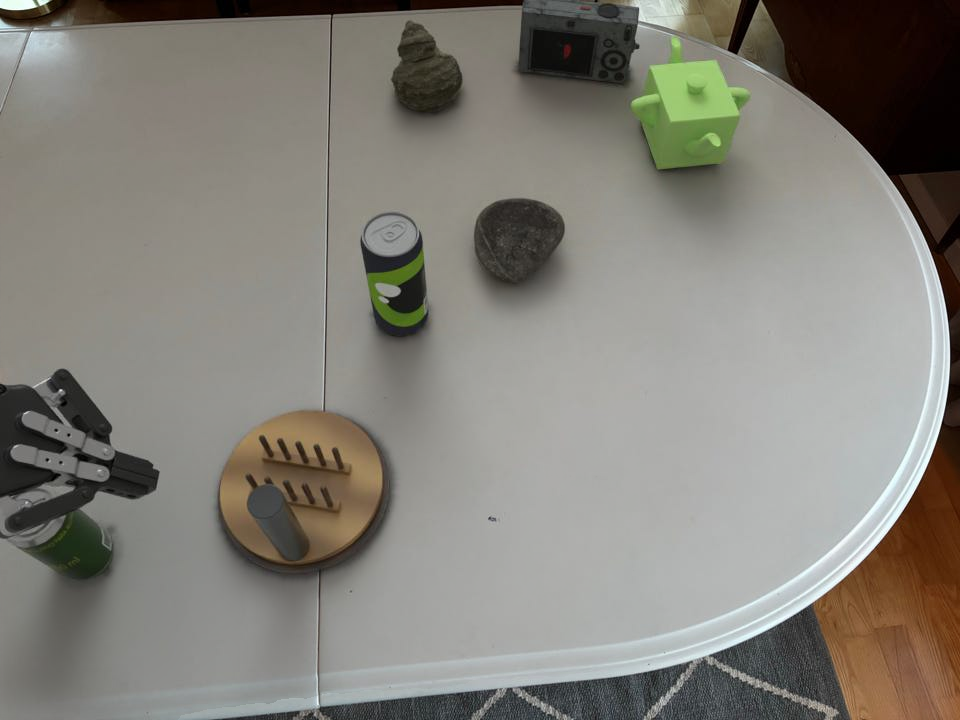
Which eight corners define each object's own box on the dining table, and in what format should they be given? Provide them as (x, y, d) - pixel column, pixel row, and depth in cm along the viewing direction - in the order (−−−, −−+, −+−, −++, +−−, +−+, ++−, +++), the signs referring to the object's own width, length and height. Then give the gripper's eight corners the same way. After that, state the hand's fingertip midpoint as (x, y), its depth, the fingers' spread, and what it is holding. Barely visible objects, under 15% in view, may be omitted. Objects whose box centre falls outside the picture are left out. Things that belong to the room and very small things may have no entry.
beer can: (103, 517, 79) (47, 471, 69) (125, 561, 77) (70, 519, 66) (50, 548, 77) (-15, 505, 67) (71, 593, 75) (7, 556, 65)
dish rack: (361, 578, 75) (341, 533, 63) (199, 549, 76) (151, 500, 65) (398, 427, 83) (387, 364, 71) (251, 403, 84) (217, 337, 73)
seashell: (466, 20, 109) (394, 16, 109) (464, 26, 99) (383, 22, 98) (464, 105, 114) (394, 102, 114) (461, 119, 104) (385, 116, 103)
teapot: (658, 92, 111) (675, 26, 102) (746, 130, 107) (772, 65, 98) (606, 158, 104) (619, 94, 95) (699, 201, 101) (721, 138, 92)
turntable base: (239, 599, 75) (236, 596, 74) (207, 444, 83) (203, 440, 82) (410, 539, 78) (409, 535, 77) (363, 396, 86) (362, 390, 85)
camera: (634, 67, 114) (647, 5, 105) (632, 86, 112) (645, 24, 103) (521, 54, 115) (525, -9, 106) (517, 72, 113) (521, 10, 104)
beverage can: (400, 285, 94) (389, 199, 81) (439, 314, 92) (434, 230, 79) (363, 318, 91) (345, 235, 78) (402, 349, 89) (391, 268, 76)
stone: (561, 293, 93) (566, 268, 89) (471, 289, 93) (471, 263, 89) (561, 220, 99) (565, 192, 95) (476, 216, 99) (476, 188, 95)
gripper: (-130, 492, 45) (159, 557, 56) (-51, 302, 52) (193, 392, 63) (-160, 524, 50) (112, 578, 60) (-84, 345, 56) (148, 422, 67)
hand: (153, 483), depth 61 cm, fingers closed
